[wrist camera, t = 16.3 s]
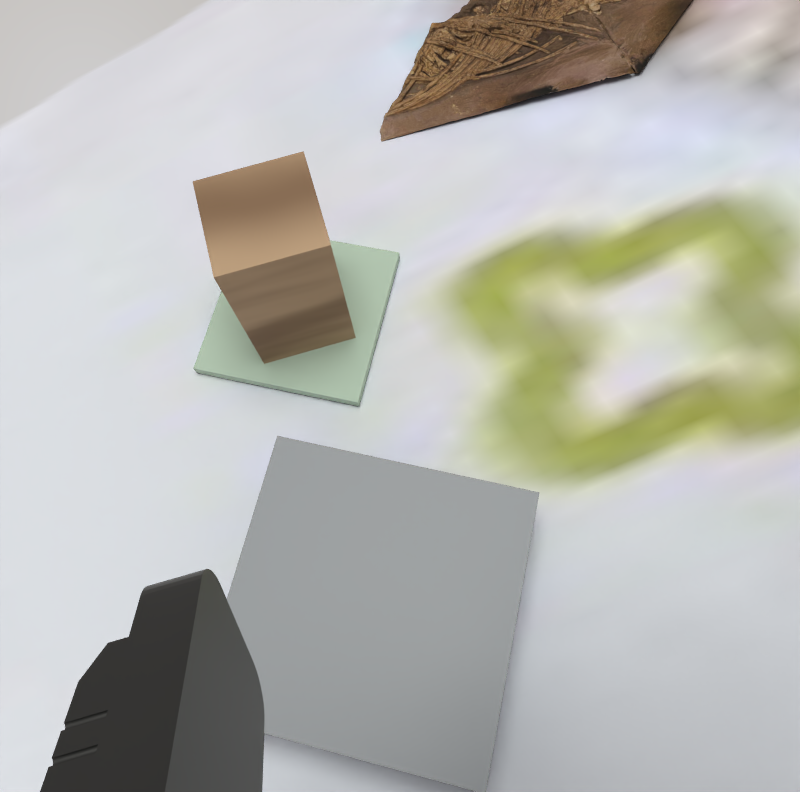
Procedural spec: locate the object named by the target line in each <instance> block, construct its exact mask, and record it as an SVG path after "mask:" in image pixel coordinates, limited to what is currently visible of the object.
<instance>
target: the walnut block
mask: <svg viewBox="0 0 800 792" xmlns="http://www.w3.org/2000/svg"><path fill="white" fill-rule="evenodd" d="M193 185H194V190H195V194H196V199H197V203H198V208H199V212H200V217H201V221H202V226H203V230H204V235H205V239H206V244H207V249H208V253H209V258H210V262H211V267H212V271H213V276H214V278H215V280H216V282H217V284H218V285H219V287H220V289H221V291H222V292H223V294H224V296H225V297H226V299H227V301H228V303H229V304H230V306H231V308H232V309H233V311H234V313H235V315H236V316H237V318H238V320H239V321H240V323H241V325H242V327H243V328H244V330H245V332H246V333H247V335H248V337H249V339H250V340H251V342H252V344H253V345H254V347H255V349H256V351H257V352H258V354H259V356H260V358H261V359H262V361H263V363H264V364H265V363H269V362H273V361H276V360H280V359H283V358H287V357H290V356H294V355H297V354H301V353H304V352H308V351H311V350H315V349H318V348H322V347H325V346H329V345H332V344H336V343H339V342H343V341H347V340H350V339H354V338H356V336H355V333H354V329H353V325H352V322H351V318H350V314H349V310H348V307H347V303H346V299H345V295H344V292H343V288H342V284H341V281H340V277H339V273H338V269H337V266H336V262H335V258H334V255H333V251H332V247H331V243H330V240H329V237H328V233H327V230H326V226H325V223H324V220H323V216H322V213H321V209H320V206H319V203H318V199H317V196H316V192H315V189H314V185H313V182H312V179H311V175H310V172H309V168H308V165H307V162H306V158H305V155H304V151H303V152H300V153H296V154H292V155H289V156H285V157H281V158H278V159H274V160H270V161H266V162H263V163H259V164H255V165H252V166H248V167H244V168H241V169H237V170H233V171H230V172H226V173H222V174H219V175H215V176H211V177H208V178H204V179H200V180H196V181H193Z"/></svg>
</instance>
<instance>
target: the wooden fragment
mask: <svg viewBox="0 0 800 792" xmlns="http://www.w3.org/2000/svg"><path fill="white" fill-rule="evenodd" d="M691 1H692V0H470V1H469V2H468V4H467V5H465V6H463V7H462V8H461V11H460V12H459V13H456V14H454V15H453V16H452V17H451V18H450V19H448V20H447V21H445V22H441V23H432V24H431V27H430V30H429V34H428V35H427V37H426V39H425V42H424V44H423V46H422V47H421V49H420V50H419V51H418V53H417V56H416V59H415V62H414V63H415V65H414V67H413V69H412V70H411V72H410V74H409V75H408V76H407V78H406V80H405V82H404V85H403V89H402V91H401V93H400V94H399V96H398V98H397V99H396V100H395V101H394V102H393V103H392V105H391V107H390V109H389V111H388V113H386V114H385V116H384V120H383V124H382V126H381V129H380V133H381V141H384V140H387V139H391V138H395V137H399V136H402V135H406V134H409V133H413V132H415V131H416V132H417V131H419V130H423V129H426V128H429V127H433V126H437V125H441V124H444V123H447V122H450V121H456V120H459V119H462V118H466V117H470V116H474V115H478V114H482V113H484V112H488V111H490V110H495V109H498V108H502V107H504V106H508V105H511V104H513V103H518V102H520V101H524V100H527V99H529V98H533V97H537V96H541V95H546V94H548V93H551V92H558V91H561V90H565V89H570V88H573V87H577V86H582V85H586V84H590V83H592V82H595V81H601V79H602V80H604V79H605V78H606V77H607V78H612V77H617V76H621V75H624V74H632V73H639V72H641V71H642V70H643V69H644V67H645V66H646V64H647V62H648V60H649V57H650V56H651V55H652V54H653V53H654V52H655V50H656V49H657V47H658V46H659V44H660V43H661V42H662V40H663V39H664V38H665V37H666V35H667V34H668V33H669V31H670V30H671V28H672V26H674V24H675V23H676V21H677V20H678V19H679V17H680V16H681V15H682V13H683V12H684V10H686V8H687V7H688V5H689V4H690V3H691ZM631 65H632V67H633V69H634V70H635V72H634V71H633V69H632V67H631Z"/></svg>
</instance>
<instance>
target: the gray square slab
mask: <svg viewBox="0 0 800 792" xmlns="http://www.w3.org/2000/svg"><path fill="white" fill-rule="evenodd" d="M538 497H539V492H534V491H530V490H525V489H520V488H516V487H511V486H507V485H502V484H497V483H493V482H488V481H483V480H479V479H474V478H470V477H465V476H460V475H456V474H451V473H446V472H442V471H437V470H433V469H428V468H423V467H419V466H414V465H409V464H405V463H400V462H396V461H391V460H386V459H382V458H377V457H373V456H368V455H363V454H359V453H354V452H349V451H345V450H340V449H336V448H331V447H326V446H322V445H317V444H312V443H308V442H303V441H299V440H294V439H289V438H285V437H280V436H277V439H276V442H275V445H274V449H273V452H272V455H271V458H270V462H269V465H268V468H267V471H266V474H265V478H264V481H263V484H262V487H261V491H260V494H259V497H258V500H257V504H256V507H255V510H254V513H253V516H252V520H251V523H250V526H249V529H248V533H247V536H246V539H245V542H244V546H243V549H242V552H241V555H240V558H239V562H238V565H237V568H236V571H235V575H234V578H233V581H232V584H231V588H230V591H229V594H228V597H227V601H228V604H229V606H230V608H231V611H232V613H233V615H234V618H235V620H236V622H237V625H238V627H239V629H240V632H241V634H242V636H243V639H244V641H245V643H246V646H247V648H248V650H249V653H250V655H251V657H252V660H253V662H254V665H255V667H256V670H257V673H258V677H259V681H260V685H261V690H262V695H263V702H264V714H265V722H264V734H268V735H271V736H275V737H278V738H282V739H286V740H289V741H293V742H297V743H300V744H304V745H308V746H311V747H315V748H318V749H322V750H326V751H329V752H333V753H337V754H340V755H344V756H347V757H351V758H355V759H358V760H362V761H366V762H369V763H373V764H377V765H380V766H384V767H387V768H391V769H395V770H398V771H402V772H406V773H409V774H413V775H416V776H420V777H424V778H427V779H431V780H435V781H438V782H442V783H446V784H449V785H453V786H456V787H460V788H464V789H467V790H471V791H475V792H486V789H487V783H488V778H489V772H490V766H491V761H492V755H493V750H494V744H495V738H496V733H497V727H498V722H499V716H500V710H501V705H502V699H503V694H504V688H505V682H506V677H507V671H508V666H509V660H510V654H511V649H512V643H513V637H514V632H515V626H516V621H517V615H518V609H519V604H520V598H521V593H522V587H523V581H524V576H525V570H526V565H527V559H528V553H529V548H530V542H531V537H532V531H533V525H534V520H535V514H536V509H537V503H538Z"/></svg>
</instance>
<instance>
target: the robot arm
mask: <svg viewBox="0 0 800 792" xmlns="http://www.w3.org/2000/svg"><path fill="white" fill-rule="evenodd" d="M264 722H265V714H264V702H263V695H262V690H261V685H260V681H259V677H258V673H257V670H256V667H255V665H254V662H253V660H252V657H251V655H250V653H249V650H248V648H247V646H246V643H245V641H244V639H243V636H242V634H241V632H240V629H239V627H238V625H237V622H236V620H235V618H234V615H233V613H232V611H231V608H230V606H229V604H228V601H227V599H226V597H225V594H224V592H223V590H222V587H221V585H220V583H219V581H218V579H217V577H216V576H215V574H214V573H213V572H212V571H211V570H209V569H205V570H202V571H198V572H195V573H191V574H188V575H184V576H181V577H178V578H174V579H171V580H167V581H164V582H160V583H157V584H153V585H150V586H147V587H145V588H144V589H143V591H142V593H141V596H140V600H139V603H138V607H137V610H136V614H135V617H134V621H133V624H132V628H131V631H130V635H129V637H127V638H123V639H120V640H116V641H113V642H109V643H108V644H107V645H106V646H105V648H104V649H103V650H102V652H101V653H100V654H99V655H98V657H97V658H96V659H95V661H94V662H93V663H92V665H91V666H90V667H89V669H88V670H87V671H86V673H85V674H84V675H83V676H82V678H81V679H80V680H79V682H78V684H77V687H76V690H75V693H74V696H73V699H72V702H71V704H70V707H69V710H68V713H67V716H66V719H65V722H64V723H65V730H63V731H61V733H60V736H59V739H58V742H57V745H56V748H55V750H54V753H53V756H52V759H53V766H51V767H49V768H48V770H47V773H46V776H45V779H44V782H43V785H42V788H41V791H40V792H262V780H263V751H264Z"/></svg>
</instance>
